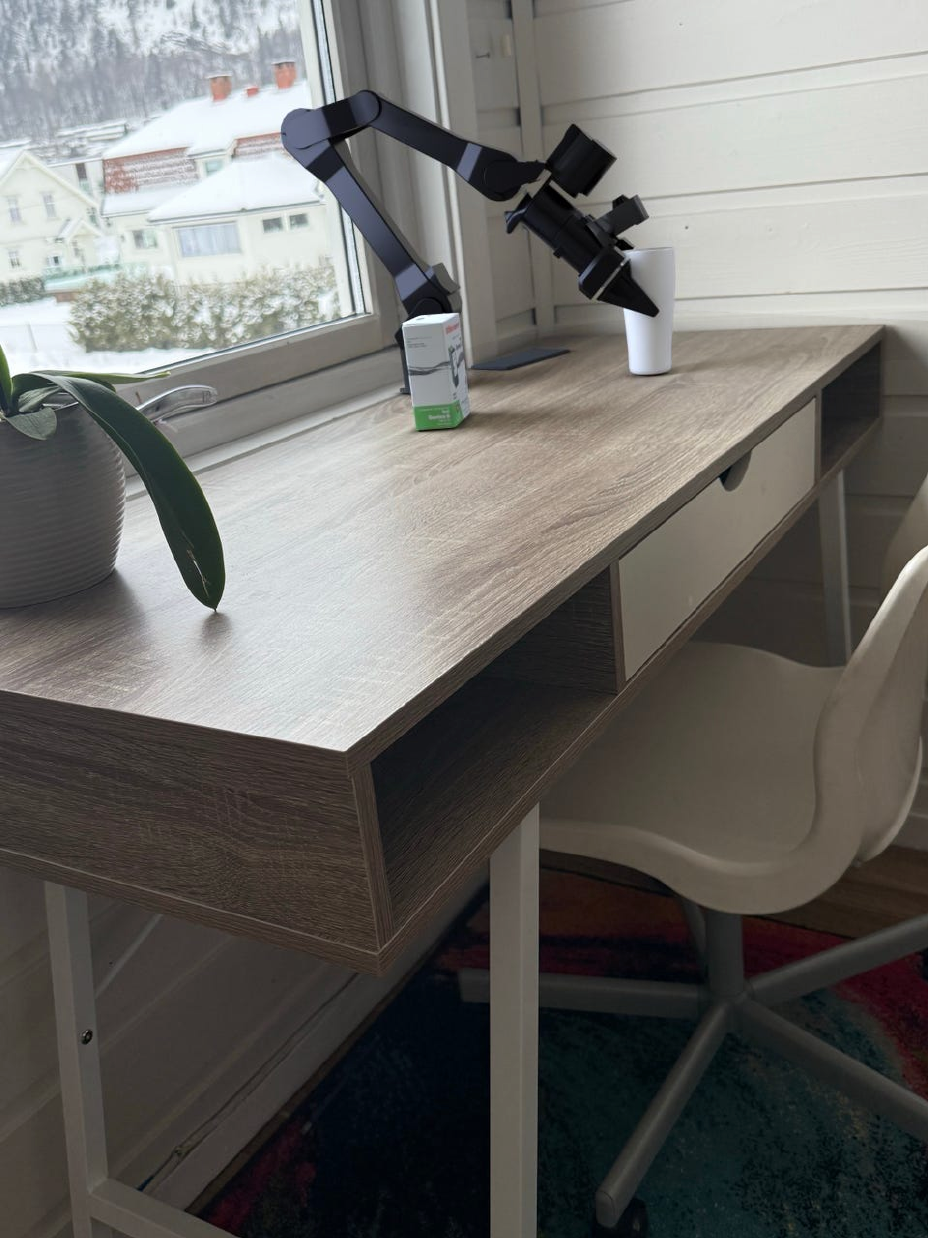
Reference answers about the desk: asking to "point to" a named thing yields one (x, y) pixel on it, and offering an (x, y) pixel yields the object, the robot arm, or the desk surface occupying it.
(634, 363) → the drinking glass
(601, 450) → the desk surface
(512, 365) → the mat
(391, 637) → the desk surface
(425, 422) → the ink box
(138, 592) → the desk surface
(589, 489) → the desk surface
